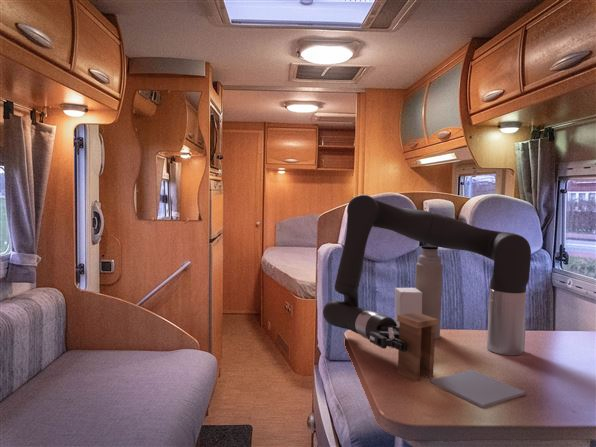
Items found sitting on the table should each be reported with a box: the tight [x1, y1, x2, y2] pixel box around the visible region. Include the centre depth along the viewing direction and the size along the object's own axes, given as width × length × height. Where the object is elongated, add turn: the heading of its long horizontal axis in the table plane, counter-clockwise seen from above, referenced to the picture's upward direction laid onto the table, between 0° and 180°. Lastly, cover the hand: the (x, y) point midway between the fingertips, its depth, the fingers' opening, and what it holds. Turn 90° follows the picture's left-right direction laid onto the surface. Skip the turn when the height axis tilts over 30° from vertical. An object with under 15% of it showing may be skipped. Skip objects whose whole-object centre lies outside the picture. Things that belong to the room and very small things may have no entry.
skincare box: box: [394, 287, 422, 326], centre depth 132 cm, size 8×7×16 cm
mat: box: [430, 369, 526, 409], centre depth 101 cm, size 14×14×1 cm
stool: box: [397, 313, 438, 382], centre depth 107 cm, size 6×7×14 cm
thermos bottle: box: [414, 244, 444, 340], centre depth 139 cm, size 8×8×28 cm
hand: (419, 345), depth 106 cm, fingers open, 8 cm apart
